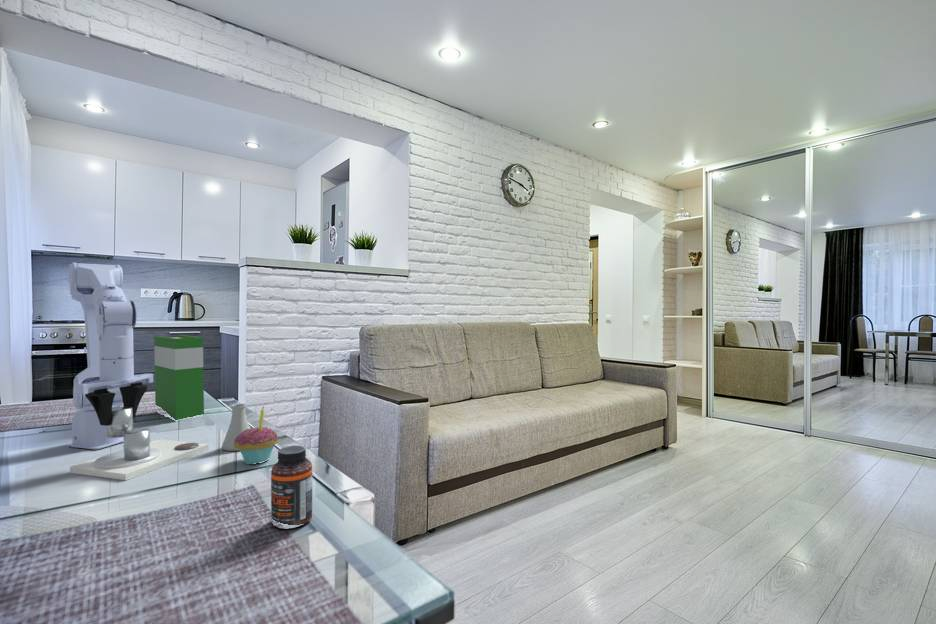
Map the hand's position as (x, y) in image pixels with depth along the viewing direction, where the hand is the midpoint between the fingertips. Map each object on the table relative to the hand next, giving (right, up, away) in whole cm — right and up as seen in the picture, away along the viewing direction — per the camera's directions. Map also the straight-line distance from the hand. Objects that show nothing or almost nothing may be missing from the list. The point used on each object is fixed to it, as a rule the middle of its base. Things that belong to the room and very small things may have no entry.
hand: (117, 422), depth 95 cm
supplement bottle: (+47, -9, -26) cm, 54 cm away
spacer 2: (+5, -7, -1) cm, 9 cm away
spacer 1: (0, -3, 0) cm, 3 cm away
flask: (+20, -9, +11) cm, 25 cm away
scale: (+4, -9, +2) cm, 10 cm away
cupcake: (+29, -9, +1) cm, 30 cm away
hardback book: (-15, -9, +43) cm, 46 cm away
